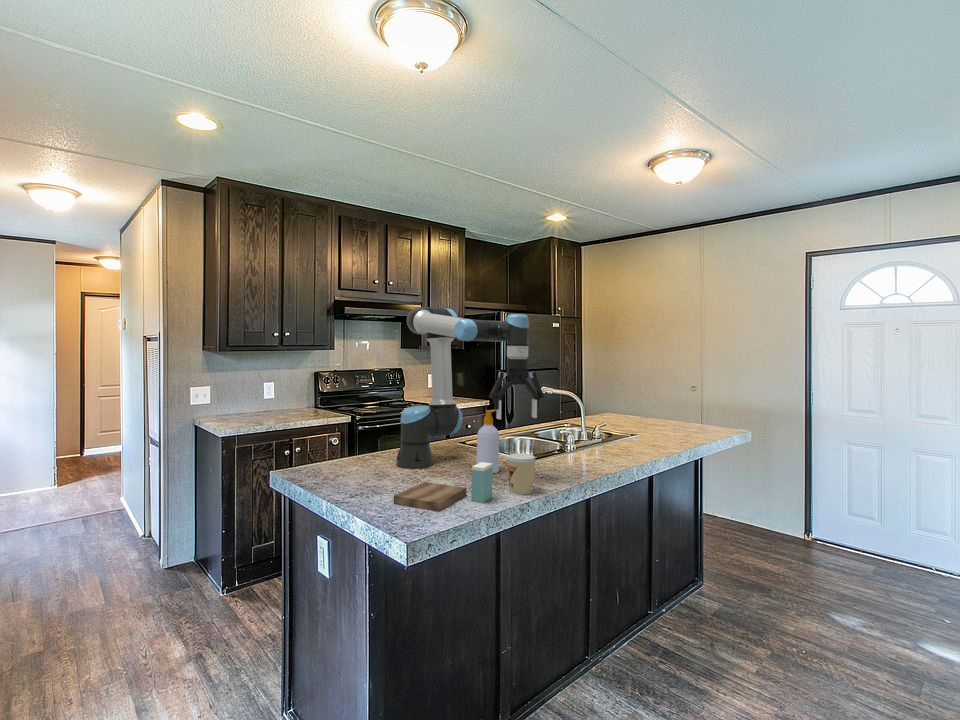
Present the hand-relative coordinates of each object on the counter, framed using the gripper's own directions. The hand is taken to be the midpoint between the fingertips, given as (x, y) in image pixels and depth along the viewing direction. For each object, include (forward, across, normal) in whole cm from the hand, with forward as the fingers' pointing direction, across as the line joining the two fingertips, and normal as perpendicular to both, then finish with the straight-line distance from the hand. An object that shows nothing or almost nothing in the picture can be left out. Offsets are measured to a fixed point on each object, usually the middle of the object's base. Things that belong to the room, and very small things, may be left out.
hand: (516, 418), depth 183 cm
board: (+23, -33, -10) cm, 42 cm away
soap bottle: (+24, -3, +20) cm, 31 cm away
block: (+23, -18, -14) cm, 32 cm away
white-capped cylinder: (+24, -2, -9) cm, 25 cm away
